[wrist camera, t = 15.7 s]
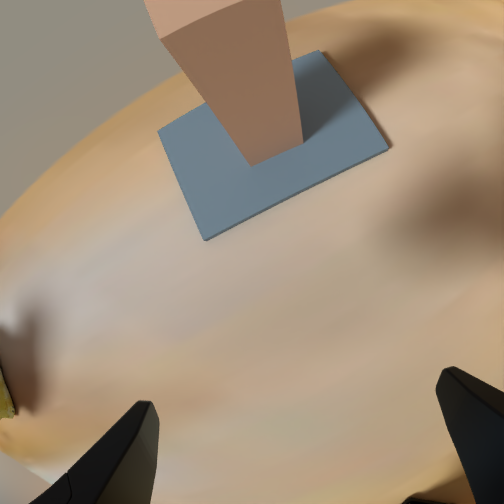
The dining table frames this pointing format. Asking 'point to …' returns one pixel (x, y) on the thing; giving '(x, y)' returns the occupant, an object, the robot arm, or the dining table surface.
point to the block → (236, 67)
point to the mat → (278, 167)
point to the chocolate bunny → (5, 400)
